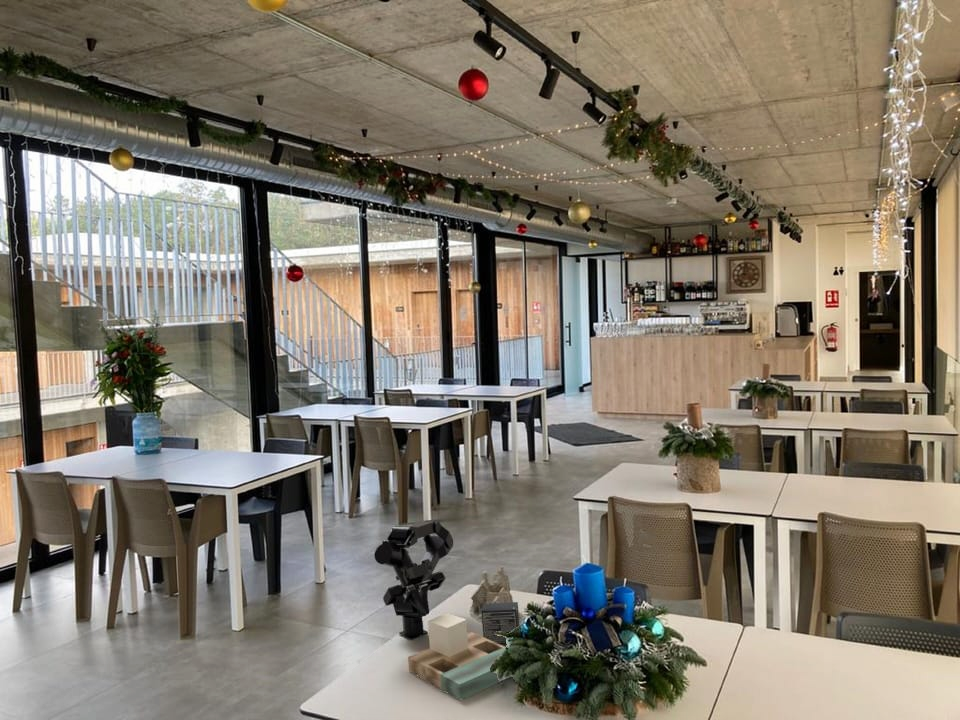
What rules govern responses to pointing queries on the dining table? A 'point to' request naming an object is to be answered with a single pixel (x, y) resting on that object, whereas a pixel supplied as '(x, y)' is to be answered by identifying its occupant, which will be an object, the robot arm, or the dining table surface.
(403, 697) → the dining table surface
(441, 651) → the cream block
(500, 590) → the ceramic cottage
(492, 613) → the small box
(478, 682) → the trap board
